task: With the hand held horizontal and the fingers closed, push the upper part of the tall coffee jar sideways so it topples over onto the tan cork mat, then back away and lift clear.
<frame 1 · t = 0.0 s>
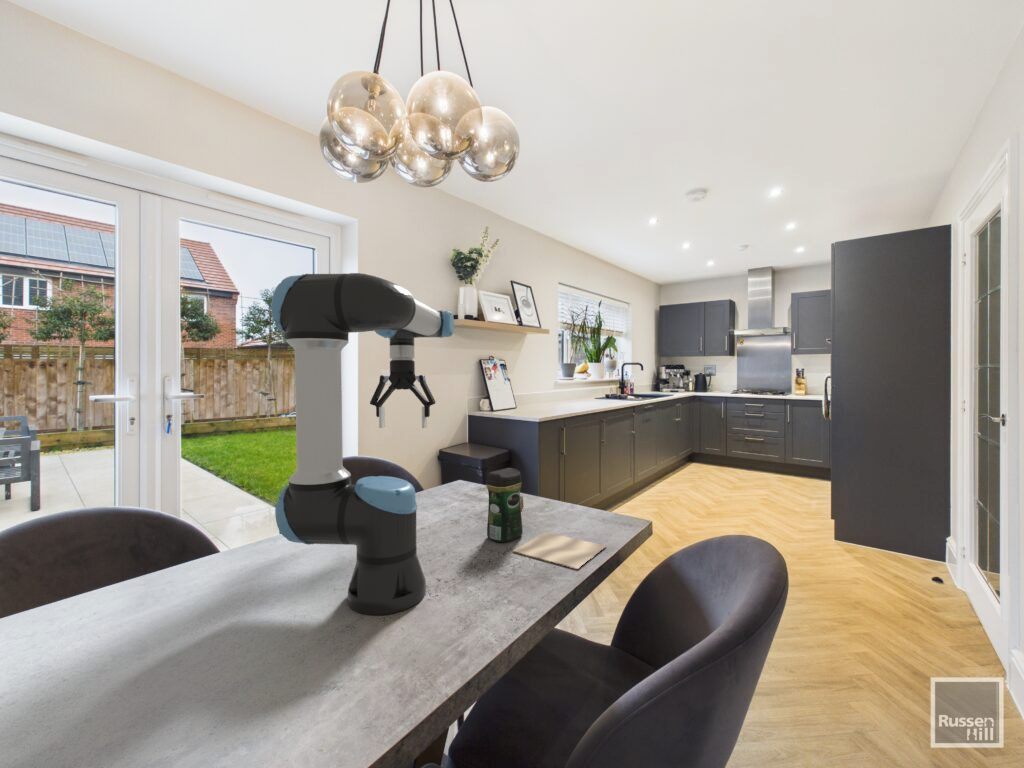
hand: (403, 427, 140), 28 cm above the table, tool pointing down, fingers open, 13 cm apart
carton: (508, 515, 142), on the table
coffee jar: (504, 537, 122), on the table
mat: (560, 549, 113), on the table
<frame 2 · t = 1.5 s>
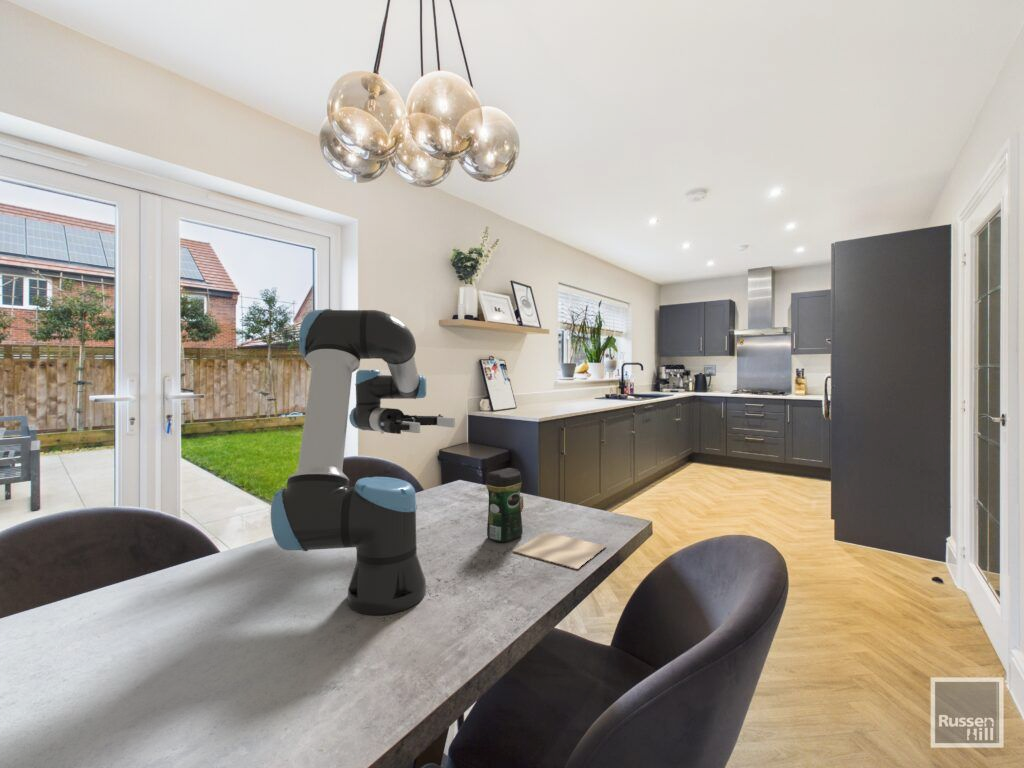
hand: (437, 425, 125), 30 cm above the table, tool horizontal, fingers open, 13 cm apart
nothing on the table moved.
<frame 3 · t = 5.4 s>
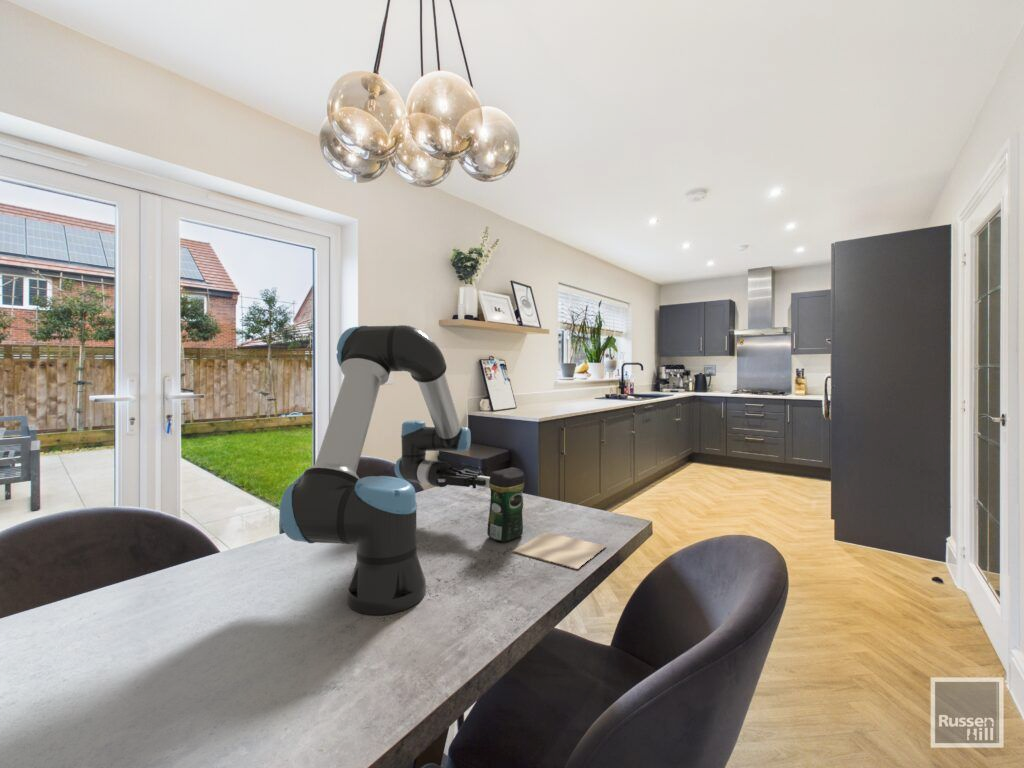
hand: (496, 483, 124), 14 cm above the table, tool horizontal, fingers closed
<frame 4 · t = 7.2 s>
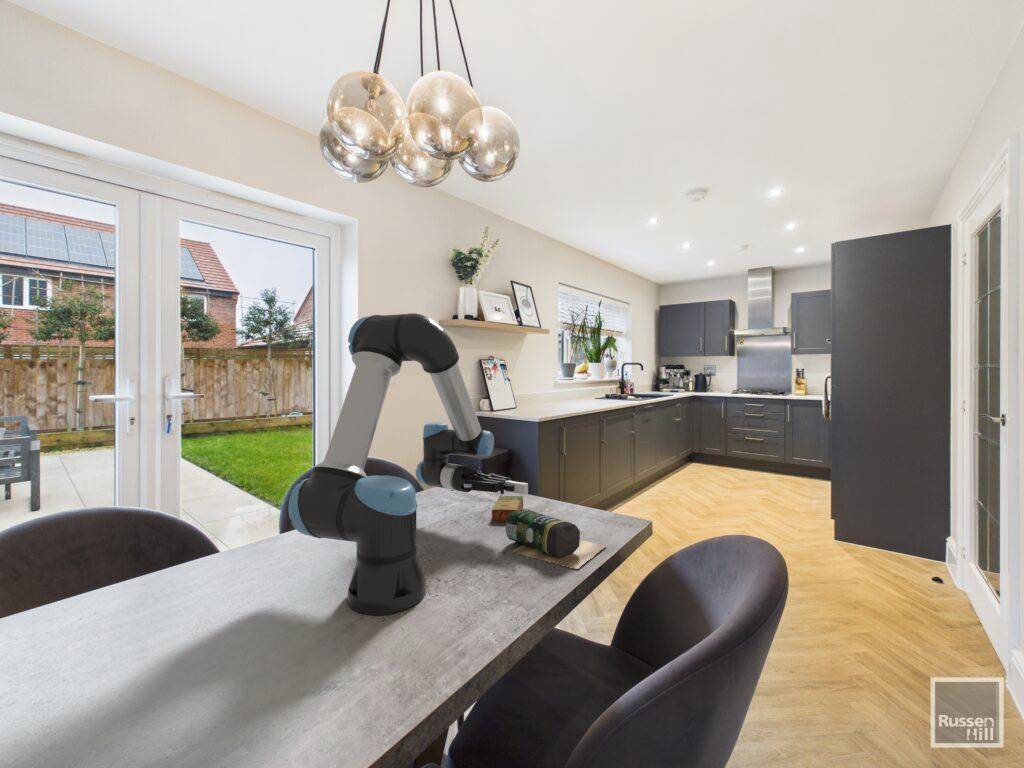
hand: (526, 489, 118), 14 cm above the table, tool horizontal, fingers closed
coffee jar: (516, 523, 120), point 4 cm above the table, touching mat
everything else where it was.
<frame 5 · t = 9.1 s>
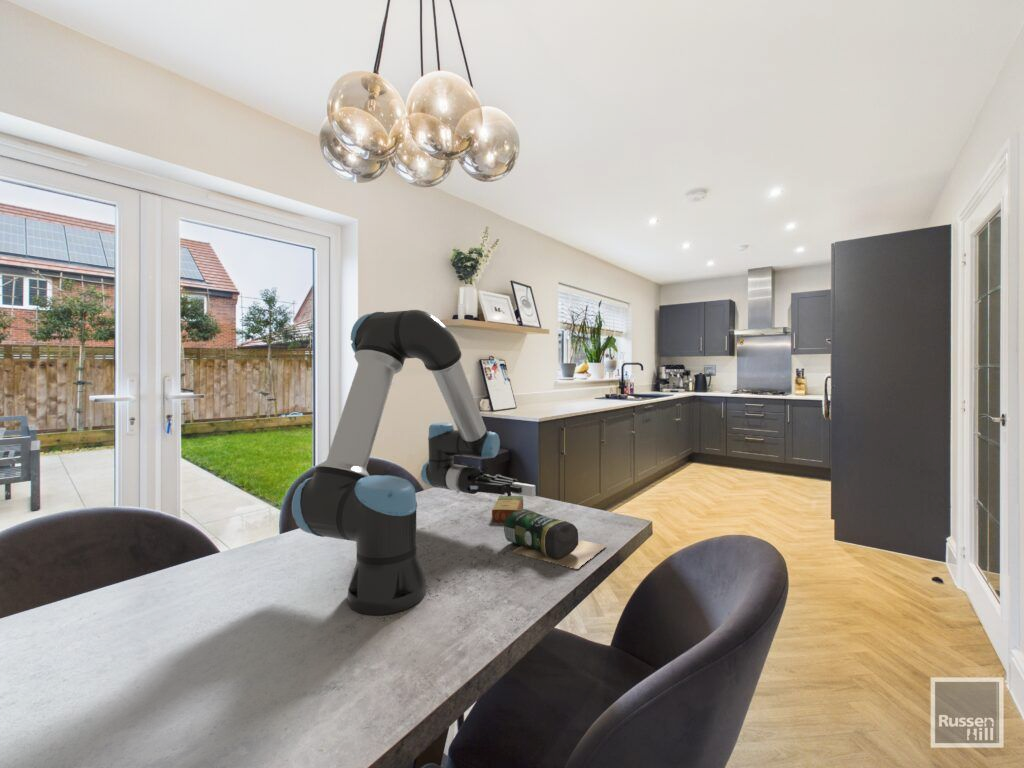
hand: (533, 491, 116), 14 cm above the table, tool horizontal, fingers closed
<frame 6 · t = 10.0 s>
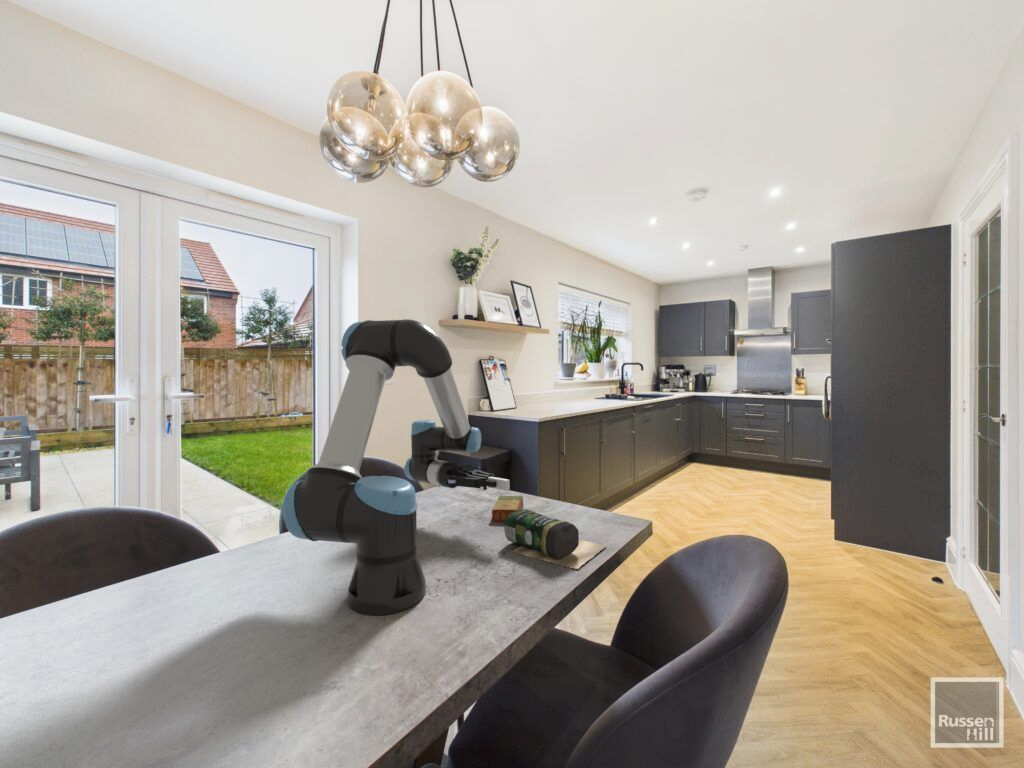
hand: (507, 485, 121), 14 cm above the table, tool horizontal, fingers closed
nothing on the table moved.
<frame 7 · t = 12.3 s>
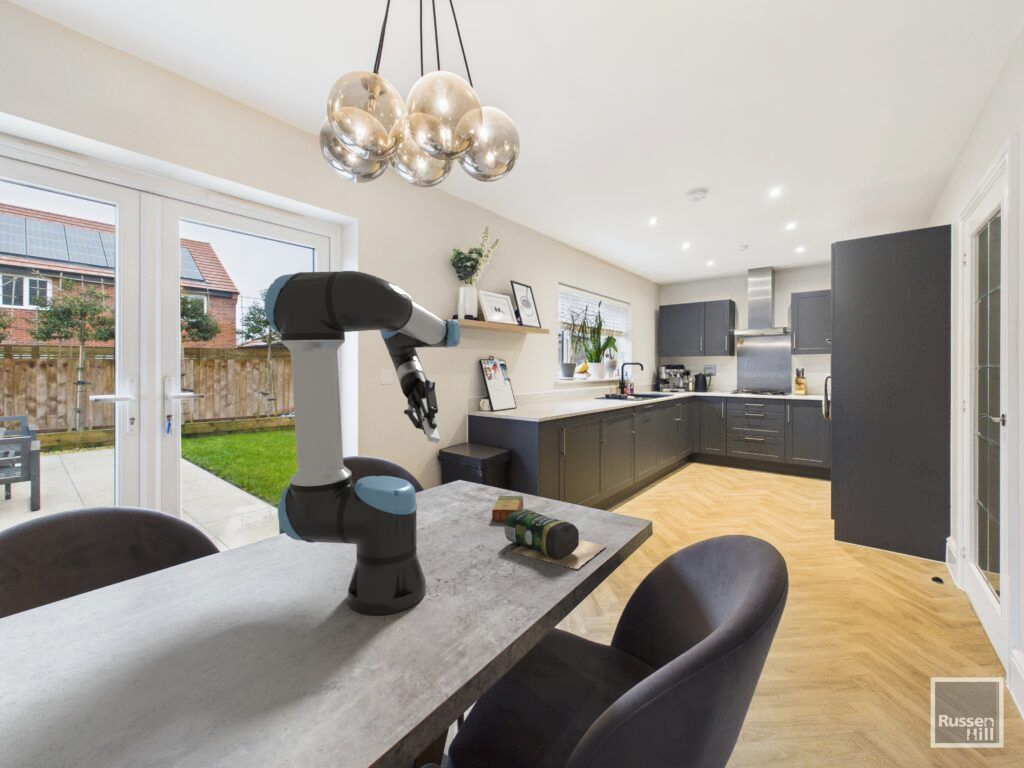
hand: (434, 439, 111), 28 cm above the table, tool tilted 50°, fingers closed
nothing on the table moved.
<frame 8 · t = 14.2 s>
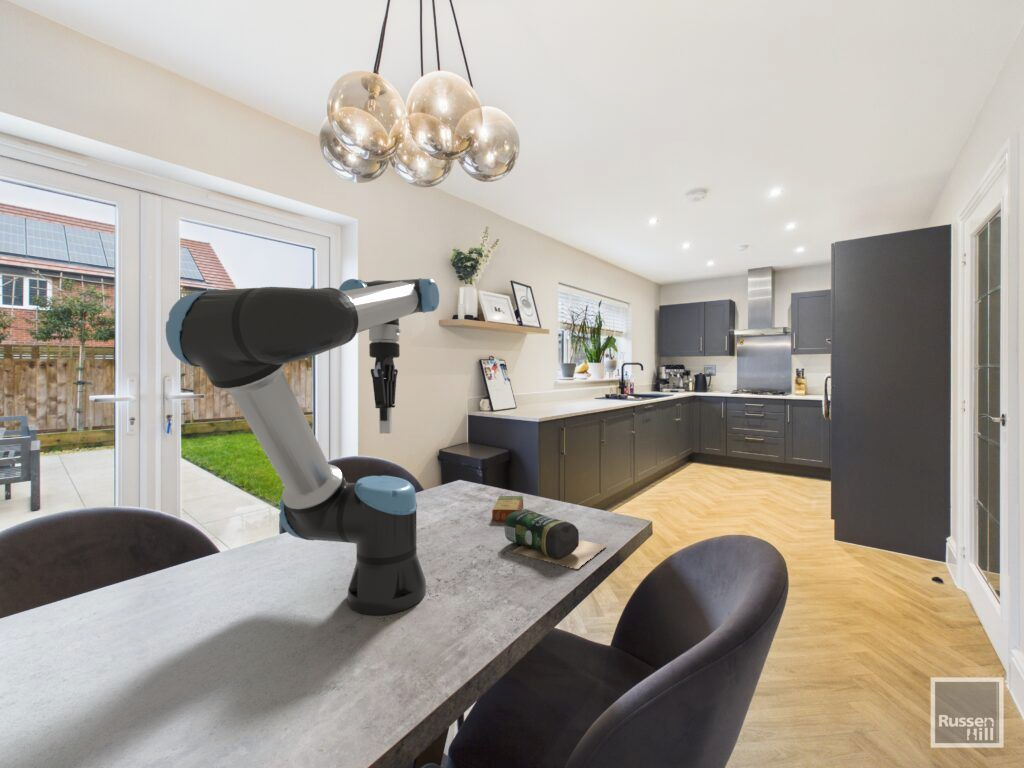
hand: (385, 433, 116), 29 cm above the table, tool pointing down, fingers closed
nothing on the table moved.
at the end: coffee jar tilted 90°; coffee jar 13.3 cm from the mat (horizontally); the gripper is holding nothing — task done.
